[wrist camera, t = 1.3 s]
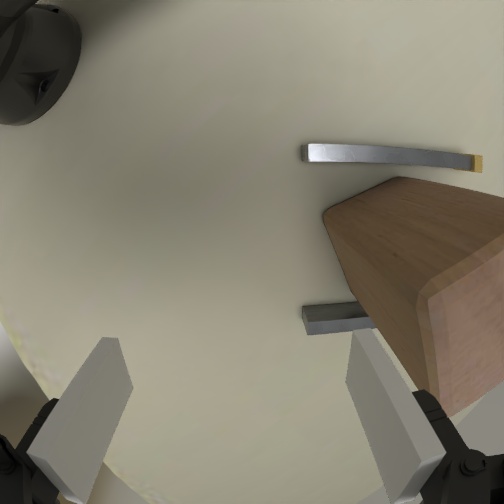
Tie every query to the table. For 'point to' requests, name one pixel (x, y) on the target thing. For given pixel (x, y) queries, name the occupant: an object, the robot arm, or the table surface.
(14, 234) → the table surface
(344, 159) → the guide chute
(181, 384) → the table surface
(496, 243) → the wooden block
